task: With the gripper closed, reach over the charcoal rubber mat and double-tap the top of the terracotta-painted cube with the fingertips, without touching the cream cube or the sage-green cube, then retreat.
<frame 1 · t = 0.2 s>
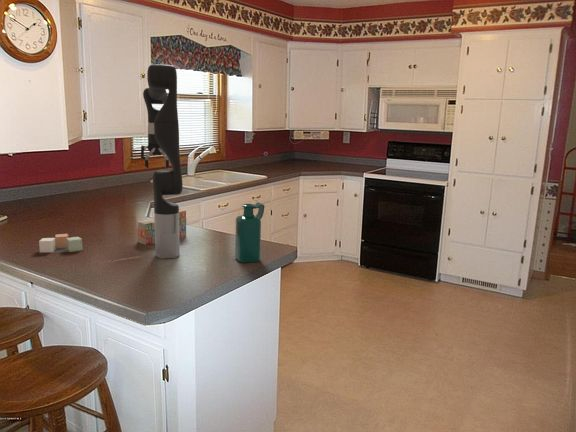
hand: (157, 168, 221), 29 cm above the countertop, fingers open, 8 cm apart
sage cube: (74, 249, 186), point 1 cm above the countertop, touching mat
mat: (57, 250, 187), on the countertop
stack of blocks: (162, 240, 209), on the countertop
terracotta cube: (62, 246, 190), point 1 cm above the countertop, touching mat
cream cube: (48, 250, 184), point 1 cm above the countertop, touching mat
pitcher: (249, 259, 184), on the countertop
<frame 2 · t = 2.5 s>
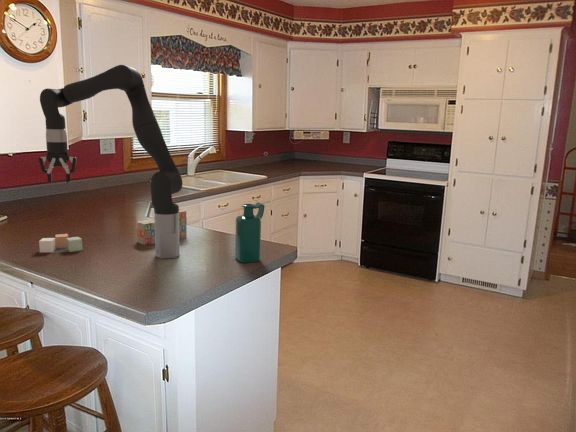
hand: (59, 182, 192), 26 cm above the countertop, fingers open, 5 cm apart
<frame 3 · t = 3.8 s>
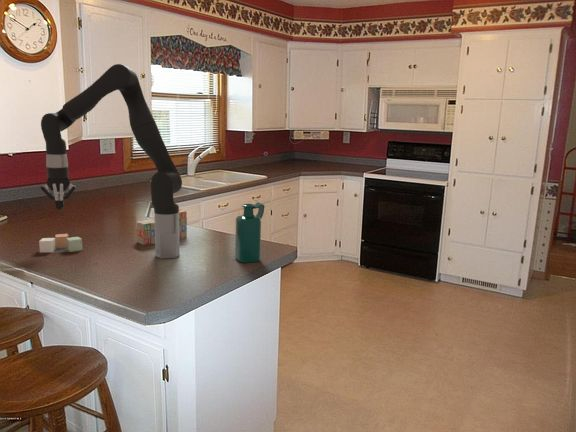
hand: (60, 209, 187), 16 cm above the countertop, fingers closed
nothing on the countertop moved.
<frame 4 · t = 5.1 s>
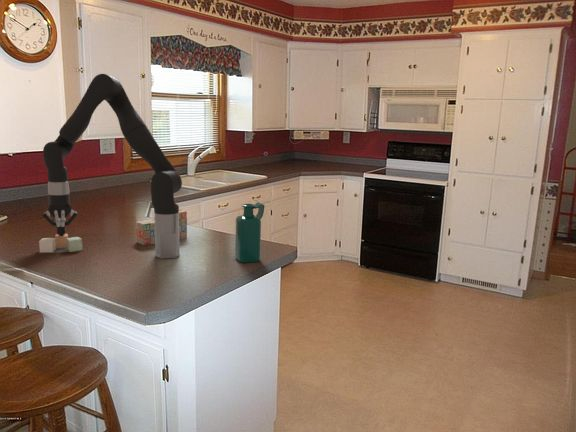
hand: (61, 235, 189), 5 cm above the countertop, fingers closed
terracotta cube: (62, 246, 190), point 1 cm above the countertop, touching gripper, mat
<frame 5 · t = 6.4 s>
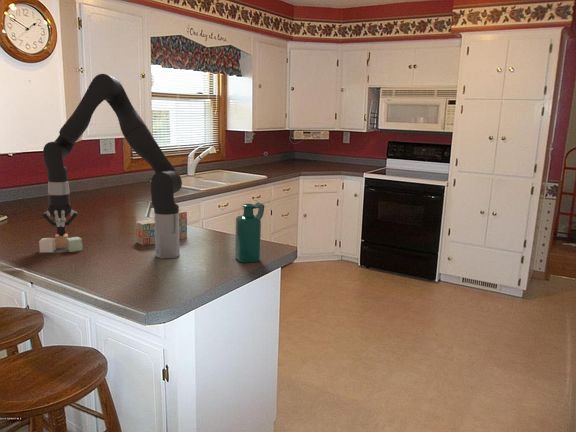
hand: (61, 235, 189), 5 cm above the countertop, fingers closed
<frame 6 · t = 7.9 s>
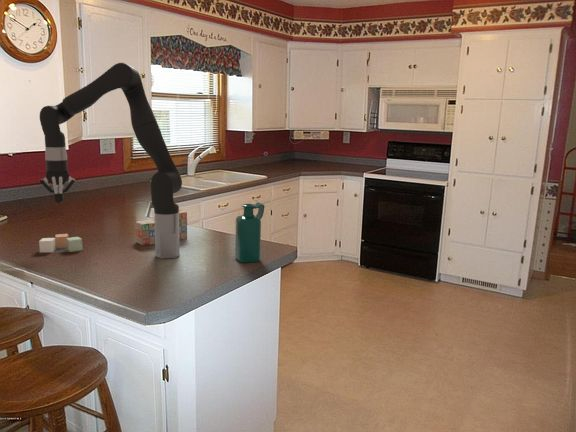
hand: (59, 202, 186), 19 cm above the countertop, fingers closed
terracotta cube: (62, 246, 190), point 1 cm above the countertop, touching mat
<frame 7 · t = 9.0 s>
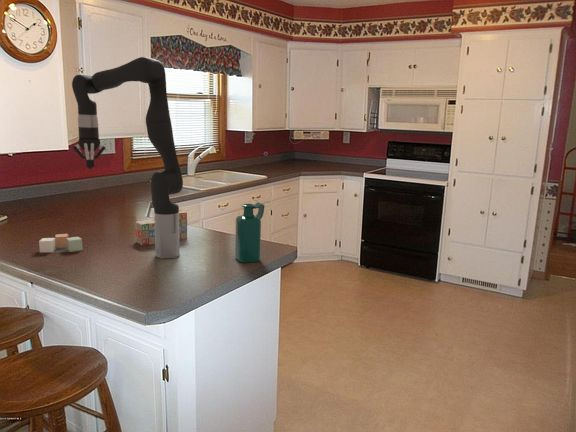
hand: (90, 168, 196), 31 cm above the countertop, fingers closed
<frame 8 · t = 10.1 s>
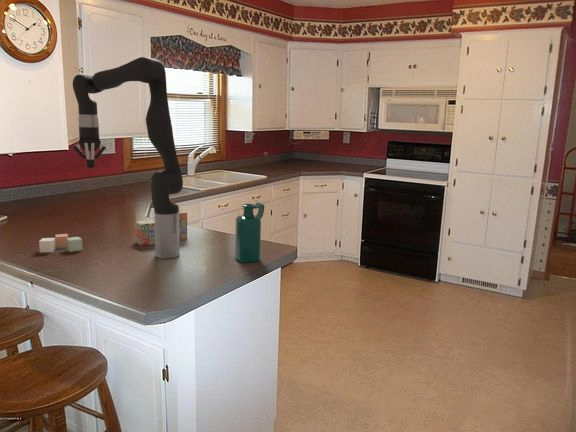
hand: (91, 168, 196), 31 cm above the countertop, fingers closed
at the end: terracotta cube moved 0.0 cm from its start; cream cube moved 0.0 cm from its start; sage cube moved 0.0 cm from its start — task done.
